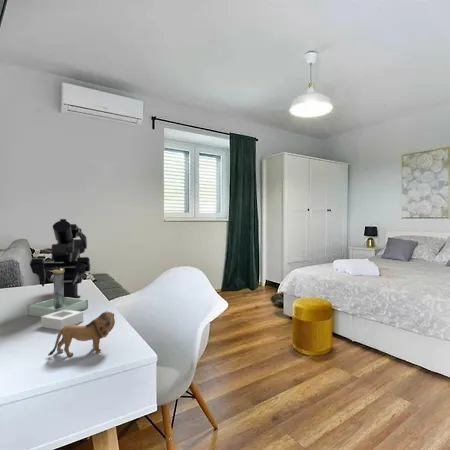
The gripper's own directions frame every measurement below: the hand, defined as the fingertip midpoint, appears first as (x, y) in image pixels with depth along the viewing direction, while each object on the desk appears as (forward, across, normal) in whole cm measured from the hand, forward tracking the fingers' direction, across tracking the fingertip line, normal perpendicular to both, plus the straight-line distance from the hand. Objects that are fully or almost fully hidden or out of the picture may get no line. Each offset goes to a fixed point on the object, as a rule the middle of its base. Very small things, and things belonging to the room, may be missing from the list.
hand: (57, 284), depth 101 cm
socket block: (+16, +4, -2) cm, 17 cm away
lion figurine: (+32, +13, -18) cm, 39 cm away
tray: (+6, 0, +8) cm, 10 cm away
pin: (+5, 0, +7) cm, 9 cm away
